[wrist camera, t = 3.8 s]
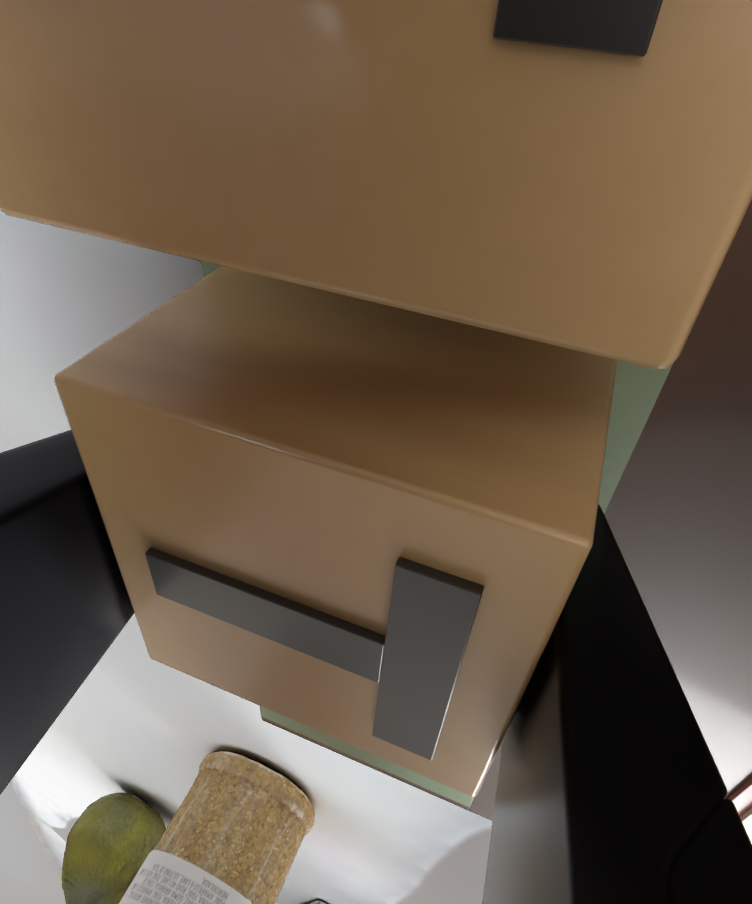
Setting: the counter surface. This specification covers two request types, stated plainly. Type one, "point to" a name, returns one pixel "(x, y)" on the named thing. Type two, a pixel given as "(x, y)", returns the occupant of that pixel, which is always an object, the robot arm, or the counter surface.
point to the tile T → (345, 506)
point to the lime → (108, 848)
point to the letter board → (673, 528)
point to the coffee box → (317, 902)
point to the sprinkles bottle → (226, 838)
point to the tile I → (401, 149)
